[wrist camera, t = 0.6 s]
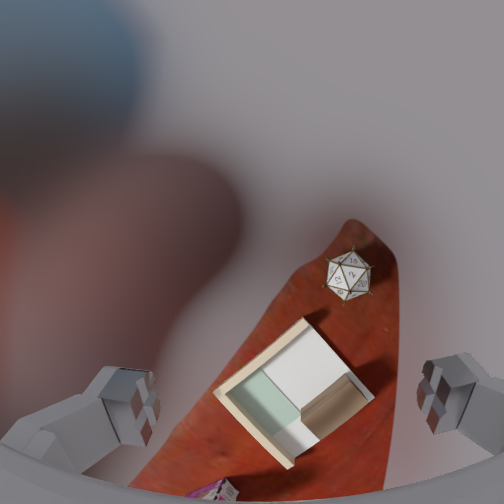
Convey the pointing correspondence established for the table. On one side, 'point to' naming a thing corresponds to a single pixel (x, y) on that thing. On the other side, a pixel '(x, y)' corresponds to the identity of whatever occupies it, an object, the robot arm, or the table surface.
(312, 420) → the walnut block
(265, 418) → the arena
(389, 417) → the table surface
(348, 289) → the game die
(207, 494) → the candy bar box
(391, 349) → the table surface
